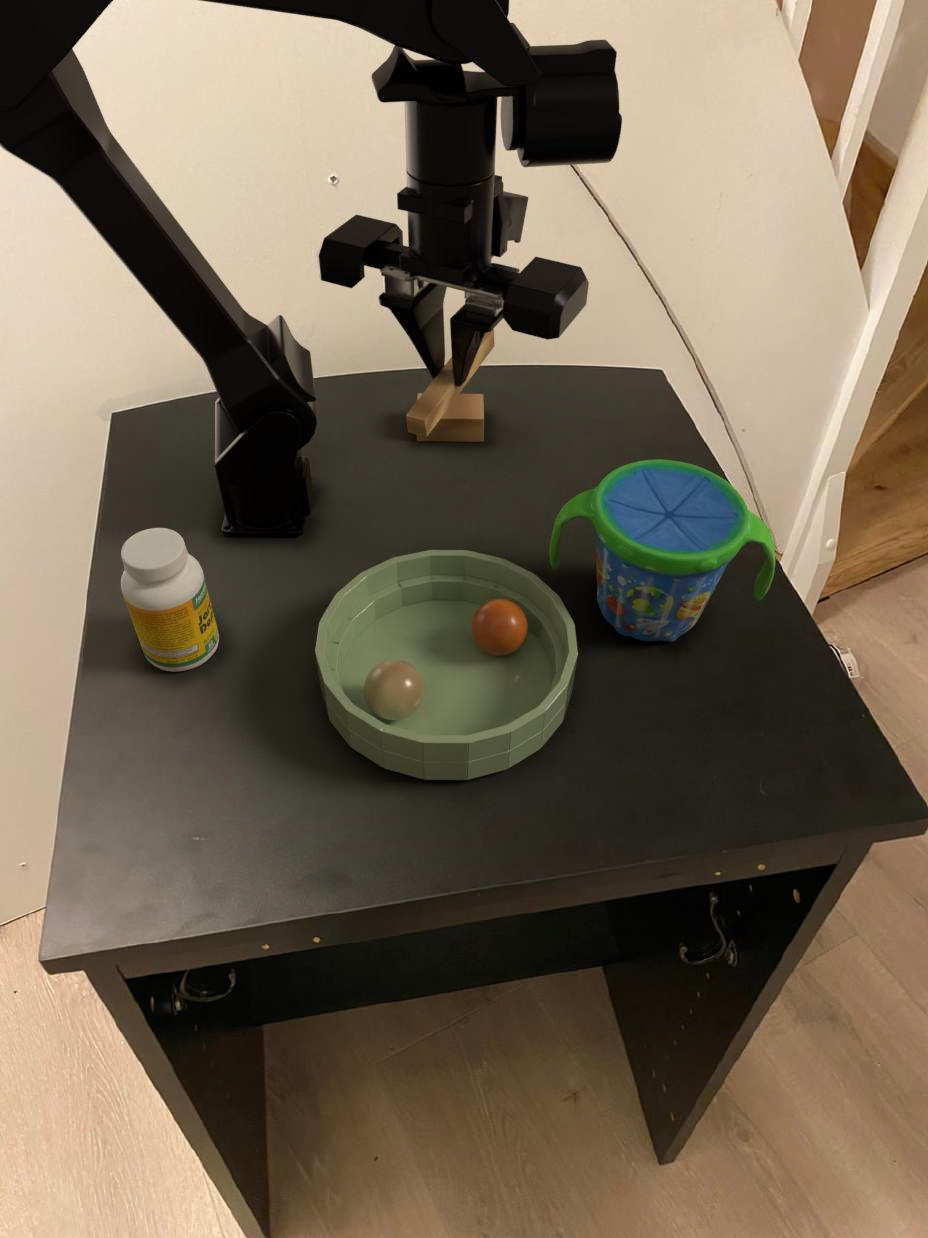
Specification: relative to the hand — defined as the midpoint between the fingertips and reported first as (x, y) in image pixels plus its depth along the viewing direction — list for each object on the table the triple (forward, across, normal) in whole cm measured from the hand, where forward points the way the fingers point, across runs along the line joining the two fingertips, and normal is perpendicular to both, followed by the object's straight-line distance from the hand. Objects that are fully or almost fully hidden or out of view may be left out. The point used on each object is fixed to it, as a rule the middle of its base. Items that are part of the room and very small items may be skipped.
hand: (449, 380), depth 72 cm
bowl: (+11, -9, +18) cm, 23 cm away
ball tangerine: (+8, -11, +14) cm, 20 cm away
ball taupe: (+8, -7, +23) cm, 25 cm away
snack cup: (+11, -20, +6) cm, 23 cm away
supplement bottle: (+11, +9, +24) cm, 28 cm away
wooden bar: (+1, 0, 0) cm, 1 cm away
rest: (+11, +4, -8) cm, 14 cm away
